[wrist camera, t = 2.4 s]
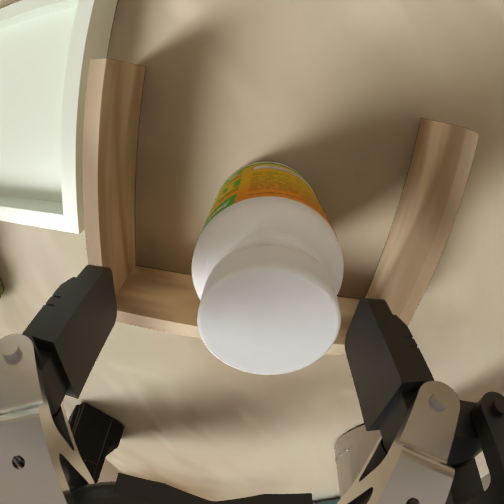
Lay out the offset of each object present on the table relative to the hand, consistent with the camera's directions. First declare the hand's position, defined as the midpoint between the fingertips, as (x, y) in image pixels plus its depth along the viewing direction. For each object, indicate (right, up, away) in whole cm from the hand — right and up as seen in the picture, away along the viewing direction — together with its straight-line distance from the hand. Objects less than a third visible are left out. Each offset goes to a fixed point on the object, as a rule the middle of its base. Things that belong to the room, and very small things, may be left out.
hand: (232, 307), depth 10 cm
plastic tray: (-15, +11, +4) cm, 19 cm away
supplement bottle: (+1, +4, +7) cm, 9 cm away
